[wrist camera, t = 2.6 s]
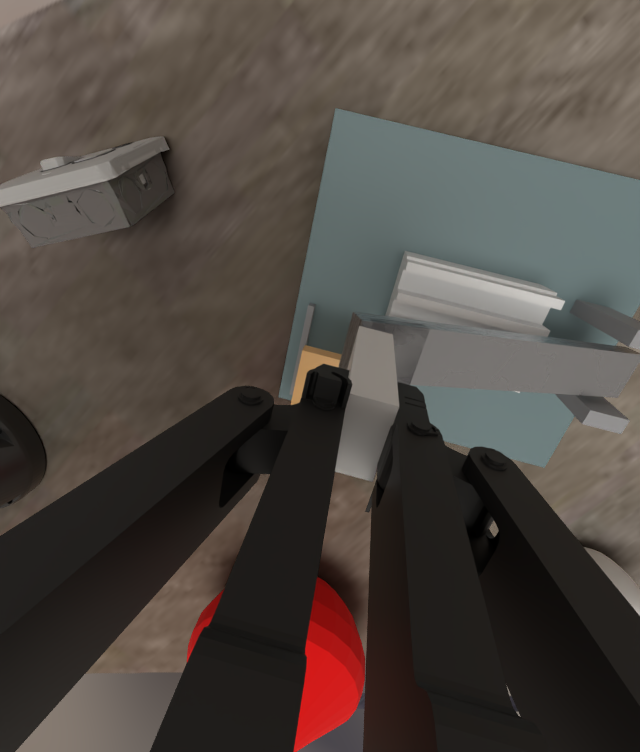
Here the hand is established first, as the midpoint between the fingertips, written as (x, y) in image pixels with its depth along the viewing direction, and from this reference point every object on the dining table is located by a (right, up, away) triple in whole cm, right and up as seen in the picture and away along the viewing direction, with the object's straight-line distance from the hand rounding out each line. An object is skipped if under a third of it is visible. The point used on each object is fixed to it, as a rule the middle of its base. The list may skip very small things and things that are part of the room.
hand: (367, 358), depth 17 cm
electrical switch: (-17, +14, +14) cm, 26 cm away
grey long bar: (+8, 0, +5) cm, 9 cm away
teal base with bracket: (+8, +5, +14) cm, 17 cm away
